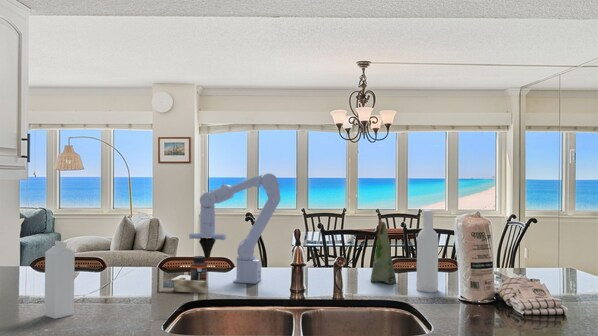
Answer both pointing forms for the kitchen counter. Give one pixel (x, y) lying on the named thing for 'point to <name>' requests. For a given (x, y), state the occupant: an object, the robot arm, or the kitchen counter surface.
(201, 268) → the supplement bottle
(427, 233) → the bottle
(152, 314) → the kitchen counter surface
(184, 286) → the corner holder
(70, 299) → the milk
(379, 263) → the pouch
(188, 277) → the mat
